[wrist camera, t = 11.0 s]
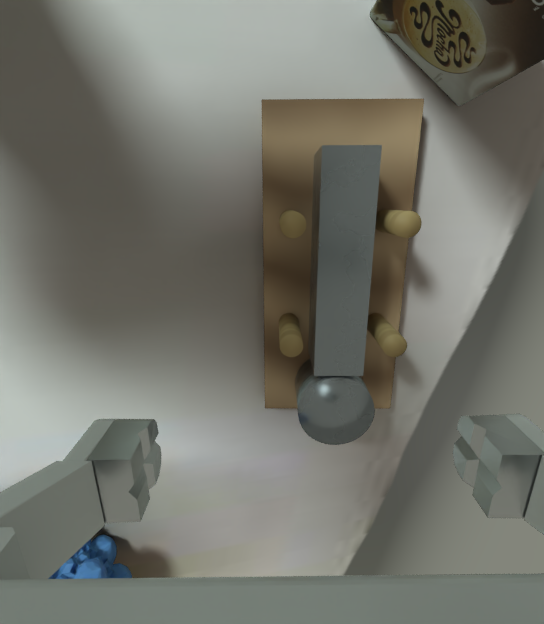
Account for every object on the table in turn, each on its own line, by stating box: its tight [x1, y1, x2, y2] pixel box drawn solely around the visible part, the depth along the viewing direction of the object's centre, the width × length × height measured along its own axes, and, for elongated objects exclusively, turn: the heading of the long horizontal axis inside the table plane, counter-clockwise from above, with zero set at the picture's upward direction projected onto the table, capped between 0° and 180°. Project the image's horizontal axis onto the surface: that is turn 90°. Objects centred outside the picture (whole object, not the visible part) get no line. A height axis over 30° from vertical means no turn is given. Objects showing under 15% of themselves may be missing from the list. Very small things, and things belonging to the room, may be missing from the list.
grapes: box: [48, 535, 132, 579], centre depth 32 cm, size 12×7×12 cm, turn 51°
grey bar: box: [295, 145, 382, 445], centre depth 26 cm, size 21×6×4 cm, turn 0°
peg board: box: [262, 99, 424, 408], centre depth 26 cm, size 24×11×6 cm, turn 0°
